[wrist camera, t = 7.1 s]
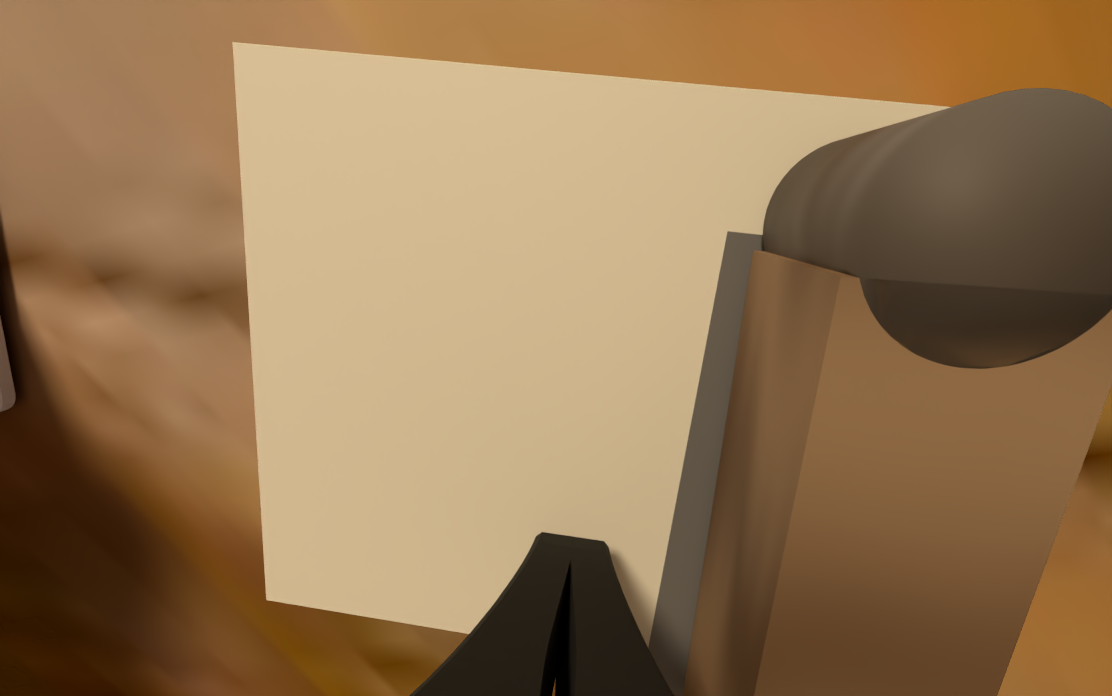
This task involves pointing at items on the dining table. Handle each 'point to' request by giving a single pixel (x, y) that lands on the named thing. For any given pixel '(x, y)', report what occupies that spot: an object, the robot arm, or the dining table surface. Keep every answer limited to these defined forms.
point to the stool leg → (910, 403)
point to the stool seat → (499, 320)
